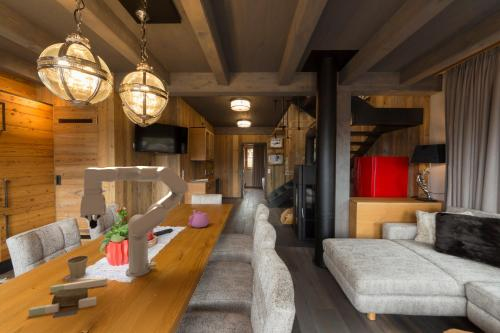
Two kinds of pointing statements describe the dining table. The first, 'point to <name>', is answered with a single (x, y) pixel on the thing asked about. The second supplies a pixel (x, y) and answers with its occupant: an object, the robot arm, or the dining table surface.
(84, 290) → the stone block
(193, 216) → the teapot
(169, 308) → the dining table surface
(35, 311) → the set of beige bars
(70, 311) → the mat
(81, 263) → the flower pot
